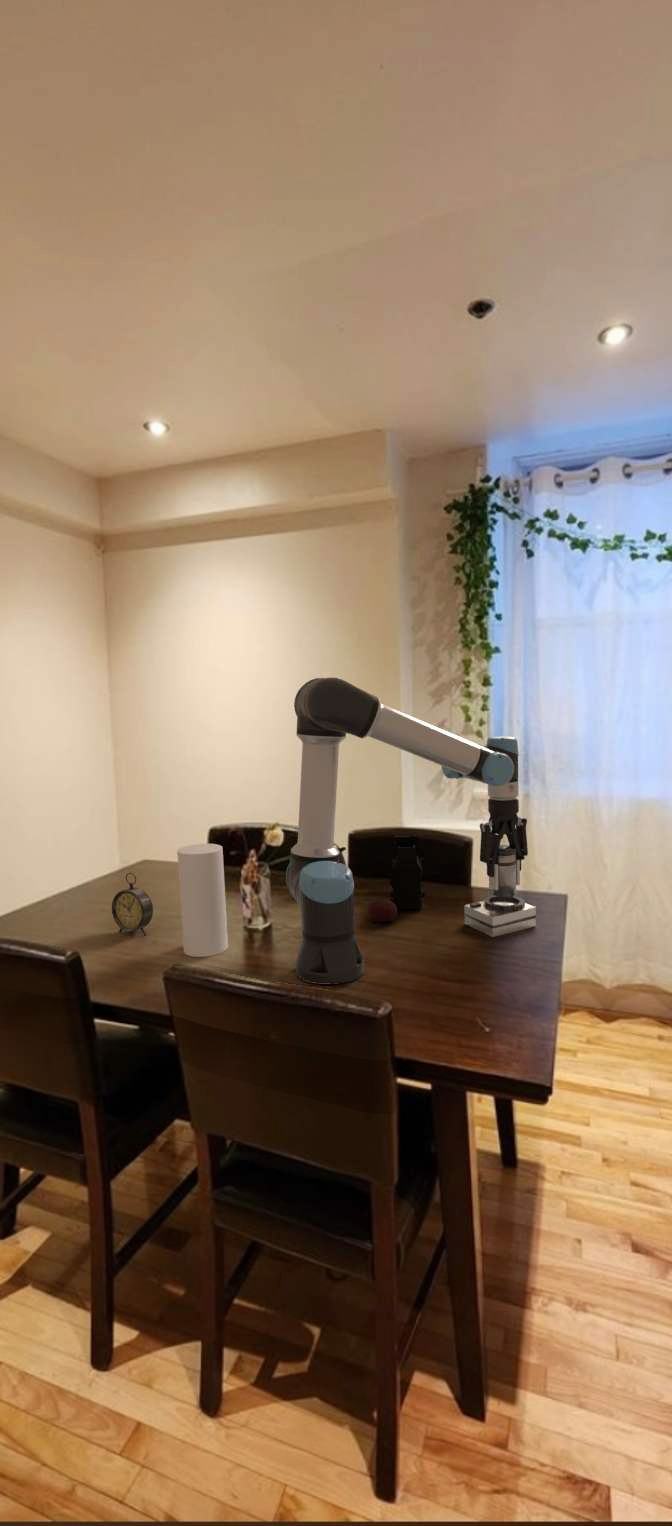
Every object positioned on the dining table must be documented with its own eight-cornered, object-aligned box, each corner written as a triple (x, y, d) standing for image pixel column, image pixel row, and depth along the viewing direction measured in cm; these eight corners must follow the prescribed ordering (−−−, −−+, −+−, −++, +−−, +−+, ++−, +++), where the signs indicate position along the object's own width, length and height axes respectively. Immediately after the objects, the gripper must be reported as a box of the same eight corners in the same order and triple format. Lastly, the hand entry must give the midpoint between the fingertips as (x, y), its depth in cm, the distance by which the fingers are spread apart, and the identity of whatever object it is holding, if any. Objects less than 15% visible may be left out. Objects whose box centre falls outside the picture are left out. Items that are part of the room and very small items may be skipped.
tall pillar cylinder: (180, 945, 168) (173, 846, 165) (222, 937, 172) (216, 841, 169) (188, 960, 158) (181, 856, 155) (232, 951, 162) (227, 850, 160)
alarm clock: (112, 933, 178) (107, 873, 176) (126, 926, 183) (122, 868, 181) (144, 938, 173) (139, 877, 171) (158, 931, 178) (154, 871, 176)
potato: (376, 928, 174) (376, 906, 174) (362, 919, 182) (361, 897, 181) (401, 923, 177) (401, 901, 177) (386, 914, 185) (386, 893, 184)
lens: (502, 898, 169) (502, 851, 168) (486, 892, 175) (486, 846, 173) (522, 894, 172) (522, 848, 171) (506, 888, 178) (505, 843, 176)
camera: (424, 895, 200) (422, 829, 198) (425, 910, 187) (424, 839, 184) (390, 895, 201) (388, 829, 199) (389, 910, 188) (387, 840, 186)
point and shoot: (492, 937, 166) (492, 912, 165) (464, 923, 175) (464, 900, 175) (535, 926, 172) (535, 902, 171) (506, 913, 182) (506, 891, 181)
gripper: (482, 804, 163) (484, 896, 166) (542, 795, 172) (543, 883, 174) (463, 800, 170) (465, 889, 172) (522, 791, 178) (523, 876, 181)
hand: (504, 886), depth 173 cm, fingers closed on lens, 6 cm apart
